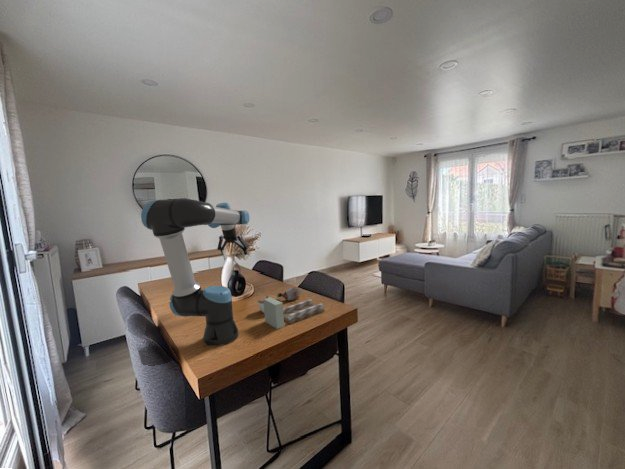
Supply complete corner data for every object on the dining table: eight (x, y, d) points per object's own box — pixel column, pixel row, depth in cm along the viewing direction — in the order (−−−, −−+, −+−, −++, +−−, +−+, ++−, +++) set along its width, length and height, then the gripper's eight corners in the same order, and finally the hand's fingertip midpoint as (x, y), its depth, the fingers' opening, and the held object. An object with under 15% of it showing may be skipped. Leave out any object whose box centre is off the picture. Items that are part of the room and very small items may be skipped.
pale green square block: (277, 329, 124) (275, 305, 123) (265, 321, 134) (263, 299, 133) (284, 326, 127) (282, 302, 126) (271, 319, 136) (270, 297, 135)
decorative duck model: (272, 291, 163) (286, 283, 176) (274, 302, 164) (288, 294, 177) (292, 291, 156) (305, 283, 168) (294, 303, 156) (307, 295, 169)
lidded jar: (275, 306, 154) (274, 291, 153) (279, 312, 144) (278, 296, 143) (257, 310, 150) (255, 294, 149) (260, 316, 140) (259, 299, 139)
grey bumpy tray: (291, 324, 129) (291, 316, 129) (277, 316, 139) (277, 309, 139) (324, 311, 143) (324, 304, 142) (309, 305, 153) (309, 298, 152)
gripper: (249, 225, 157) (256, 256, 165) (212, 226, 162) (220, 256, 171) (244, 230, 150) (251, 262, 159) (206, 231, 156) (214, 262, 164)
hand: (235, 259), depth 165 cm, fingers open, 13 cm apart
